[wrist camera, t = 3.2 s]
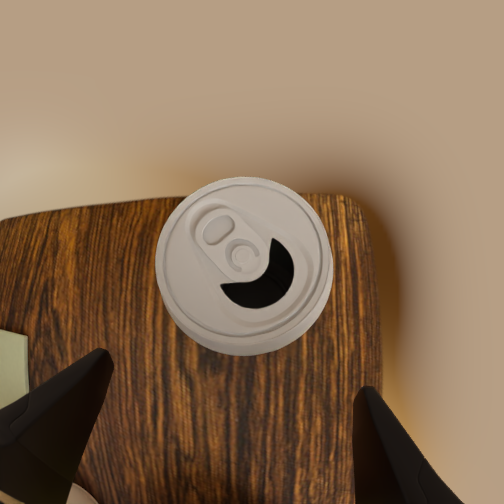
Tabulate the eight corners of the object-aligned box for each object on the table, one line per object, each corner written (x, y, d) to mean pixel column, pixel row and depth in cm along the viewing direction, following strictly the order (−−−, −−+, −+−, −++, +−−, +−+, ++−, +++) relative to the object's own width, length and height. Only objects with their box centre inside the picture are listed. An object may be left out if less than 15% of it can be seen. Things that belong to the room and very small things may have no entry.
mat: (34, 431, 17) (30, 432, 16) (-3, 412, 17) (-6, 412, 16) (28, 336, 20) (24, 335, 19) (-8, 327, 20) (-11, 326, 19)
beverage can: (251, 366, 19) (233, 402, 7) (192, 300, 20) (111, 248, 9) (317, 304, 20) (381, 257, 9) (256, 243, 22) (247, 137, 10)
